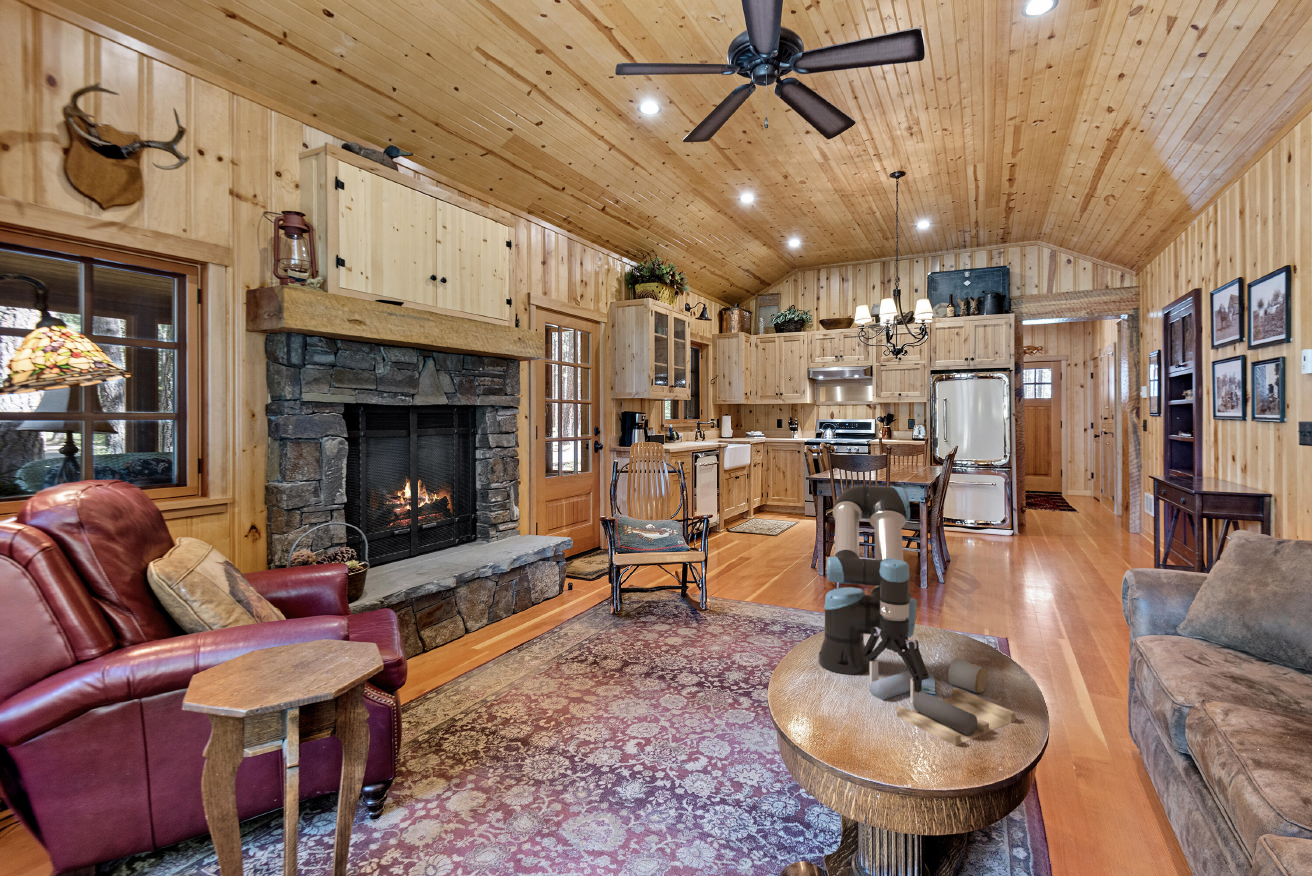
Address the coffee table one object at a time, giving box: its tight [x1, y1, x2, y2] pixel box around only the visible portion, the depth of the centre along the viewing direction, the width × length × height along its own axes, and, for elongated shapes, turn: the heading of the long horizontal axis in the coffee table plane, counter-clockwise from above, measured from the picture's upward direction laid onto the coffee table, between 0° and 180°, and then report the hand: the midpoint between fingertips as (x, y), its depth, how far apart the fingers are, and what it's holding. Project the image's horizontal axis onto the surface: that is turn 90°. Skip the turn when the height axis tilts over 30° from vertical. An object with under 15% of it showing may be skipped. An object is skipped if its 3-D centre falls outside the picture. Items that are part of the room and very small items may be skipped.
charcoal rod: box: [912, 691, 977, 736], centre depth 148 cm, size 14×5×5 cm
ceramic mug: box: [947, 657, 988, 694], centre depth 169 cm, size 11×8×8 cm
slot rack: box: [896, 687, 1016, 747], centre depth 150 cm, size 16×24×3 cm, turn 119°
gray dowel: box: [869, 670, 913, 701], centre depth 165 cm, size 14×5×5 cm, turn 119°
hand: (893, 692), depth 165 cm, fingers open, 13 cm apart
